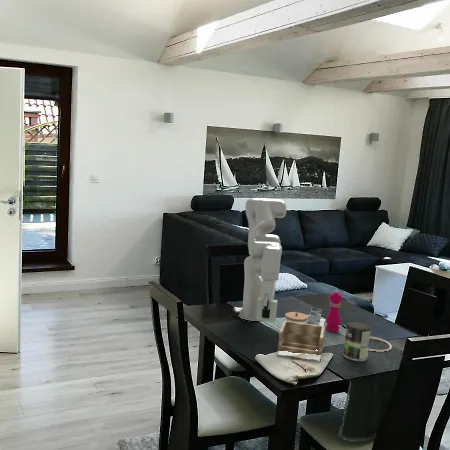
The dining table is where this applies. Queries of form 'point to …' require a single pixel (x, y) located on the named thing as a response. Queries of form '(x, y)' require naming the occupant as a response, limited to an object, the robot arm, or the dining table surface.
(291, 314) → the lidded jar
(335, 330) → the pepper mill
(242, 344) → the dining table surface
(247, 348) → the dining table surface
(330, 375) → the dining table surface
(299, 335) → the cabinet frame
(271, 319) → the rectangular block
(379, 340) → the hand towel holder
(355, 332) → the coffee can
